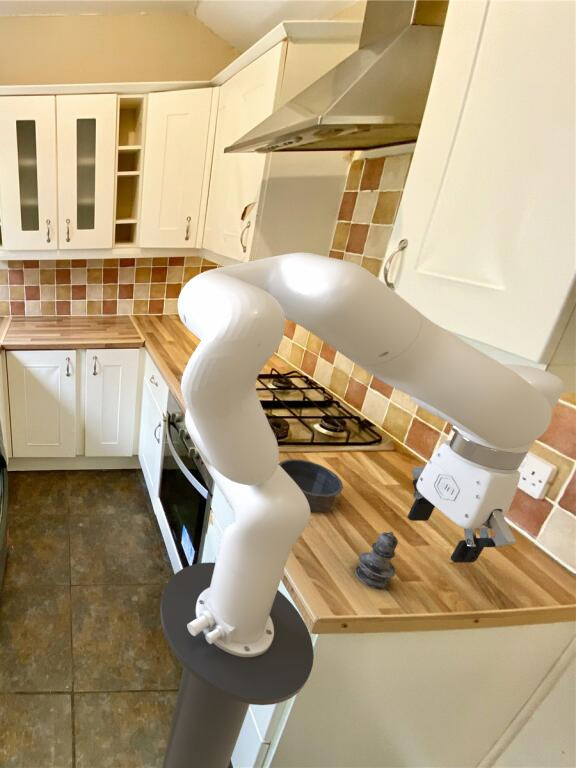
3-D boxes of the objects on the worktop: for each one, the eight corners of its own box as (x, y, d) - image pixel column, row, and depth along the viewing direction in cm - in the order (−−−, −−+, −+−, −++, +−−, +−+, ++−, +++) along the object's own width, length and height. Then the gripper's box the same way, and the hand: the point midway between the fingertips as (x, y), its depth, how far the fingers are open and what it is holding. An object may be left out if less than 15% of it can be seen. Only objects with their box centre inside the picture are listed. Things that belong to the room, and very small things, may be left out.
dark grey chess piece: (379, 567, 83) (400, 522, 78) (395, 592, 78) (419, 546, 73) (348, 563, 84) (366, 518, 79) (361, 587, 79) (382, 541, 74)
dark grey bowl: (314, 520, 95) (320, 504, 93) (260, 485, 106) (264, 469, 104) (349, 499, 101) (355, 483, 99) (294, 468, 113) (298, 453, 110)
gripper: (413, 418, 67) (377, 502, 74) (520, 489, 51) (462, 586, 59) (459, 418, 67) (419, 502, 74) (580, 489, 51) (514, 585, 59)
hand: (438, 538), depth 67 cm, fingers open, 8 cm apart
